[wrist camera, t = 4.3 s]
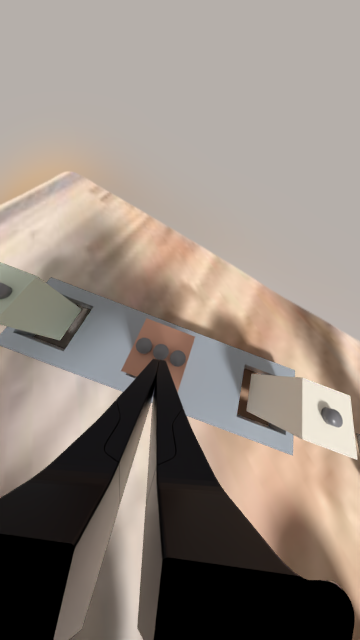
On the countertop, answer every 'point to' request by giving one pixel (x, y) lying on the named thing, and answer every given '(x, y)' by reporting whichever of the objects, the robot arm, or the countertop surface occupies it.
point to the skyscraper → (359, 438)
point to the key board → (107, 362)
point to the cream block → (305, 410)
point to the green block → (33, 304)
